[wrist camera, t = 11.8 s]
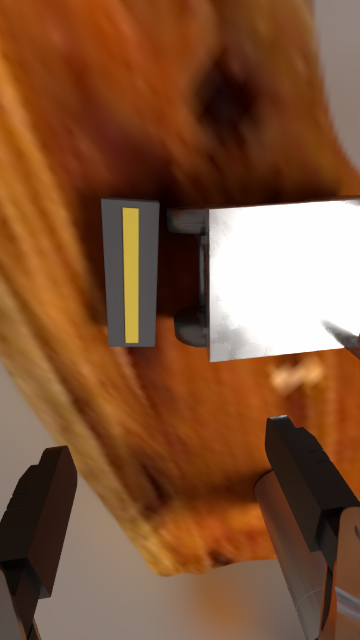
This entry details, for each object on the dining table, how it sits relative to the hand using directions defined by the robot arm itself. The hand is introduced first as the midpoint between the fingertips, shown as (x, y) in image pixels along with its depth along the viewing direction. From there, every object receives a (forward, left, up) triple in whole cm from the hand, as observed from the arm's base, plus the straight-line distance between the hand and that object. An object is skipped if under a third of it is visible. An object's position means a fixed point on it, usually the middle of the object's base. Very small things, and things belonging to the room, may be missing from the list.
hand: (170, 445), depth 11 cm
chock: (+2, +2, -19) cm, 20 cm away
